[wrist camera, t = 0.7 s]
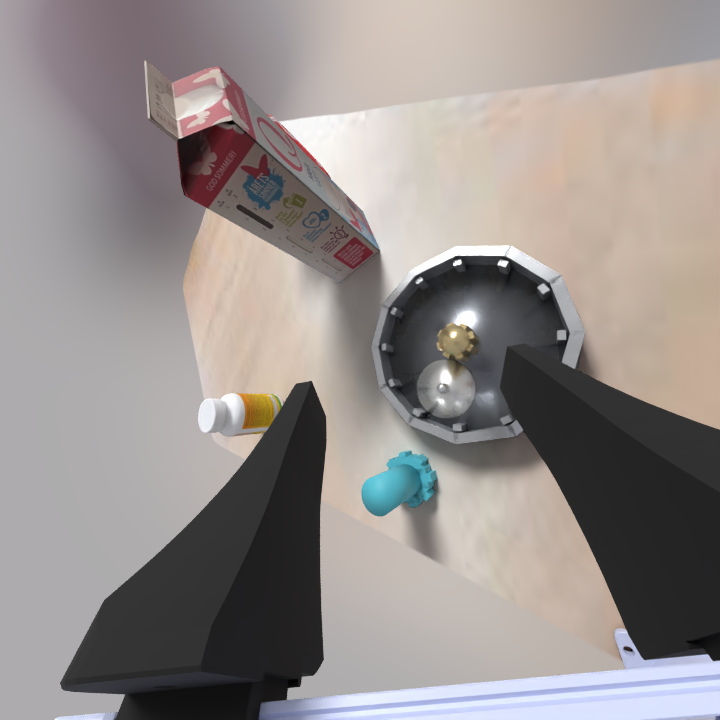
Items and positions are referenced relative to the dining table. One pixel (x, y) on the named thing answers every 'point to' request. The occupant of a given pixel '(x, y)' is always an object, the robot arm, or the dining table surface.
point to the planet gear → (399, 484)
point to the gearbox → (469, 338)
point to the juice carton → (256, 172)
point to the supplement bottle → (239, 414)
